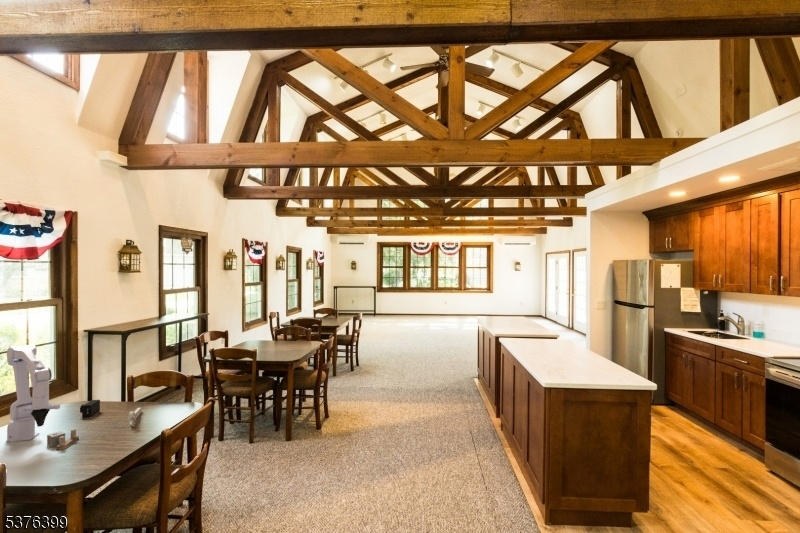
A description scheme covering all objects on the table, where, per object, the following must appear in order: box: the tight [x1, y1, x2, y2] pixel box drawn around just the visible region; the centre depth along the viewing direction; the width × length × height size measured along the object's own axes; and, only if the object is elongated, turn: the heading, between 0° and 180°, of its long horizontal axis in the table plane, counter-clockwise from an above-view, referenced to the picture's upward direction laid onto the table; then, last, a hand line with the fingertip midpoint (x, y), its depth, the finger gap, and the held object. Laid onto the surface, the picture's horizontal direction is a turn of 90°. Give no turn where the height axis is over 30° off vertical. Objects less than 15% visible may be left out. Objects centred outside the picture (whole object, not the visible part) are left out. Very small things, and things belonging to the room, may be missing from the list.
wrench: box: [128, 407, 142, 427], centre depth 224 cm, size 8×2×30 cm
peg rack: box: [55, 428, 80, 451], centre depth 193 cm, size 3×12×5 cm, turn 12°
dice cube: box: [46, 431, 66, 449], centre depth 192 cm, size 5×5×5 cm
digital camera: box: [79, 399, 101, 419], centre depth 233 cm, size 10×5×7 cm, turn 13°
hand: (40, 425), depth 191 cm, fingers closed
